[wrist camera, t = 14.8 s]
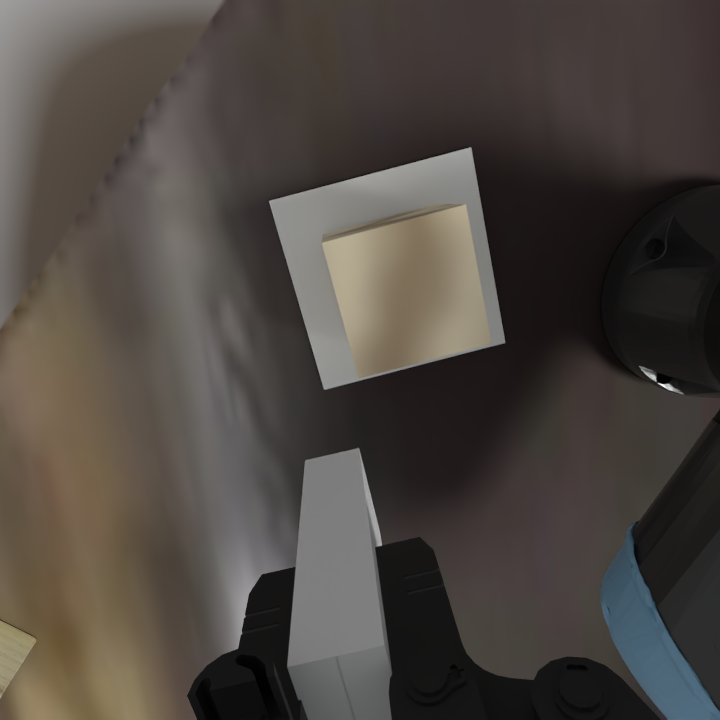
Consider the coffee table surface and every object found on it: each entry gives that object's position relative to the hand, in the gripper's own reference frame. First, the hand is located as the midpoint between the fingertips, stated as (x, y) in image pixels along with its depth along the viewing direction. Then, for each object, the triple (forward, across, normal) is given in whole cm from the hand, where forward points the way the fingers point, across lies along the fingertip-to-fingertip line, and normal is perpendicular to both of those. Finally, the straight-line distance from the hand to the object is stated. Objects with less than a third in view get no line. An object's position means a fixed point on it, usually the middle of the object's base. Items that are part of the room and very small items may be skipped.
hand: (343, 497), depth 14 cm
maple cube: (+16, +5, +2) cm, 17 cm away
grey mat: (+25, +5, +2) cm, 25 cm away
